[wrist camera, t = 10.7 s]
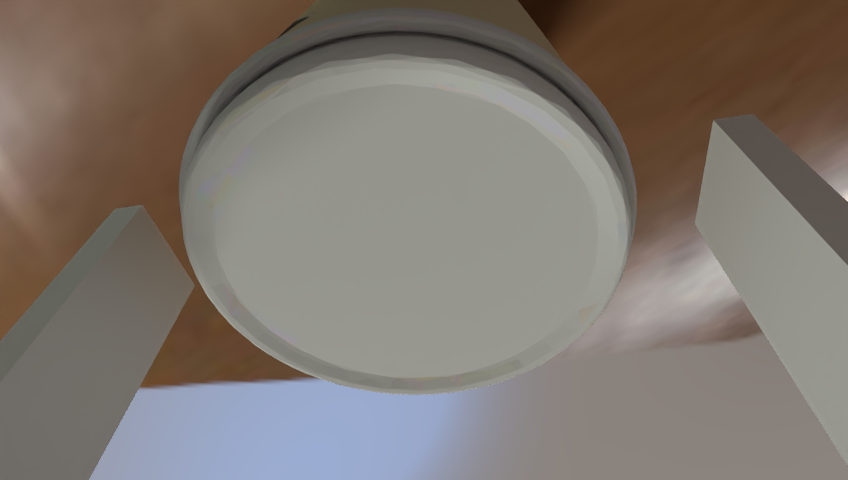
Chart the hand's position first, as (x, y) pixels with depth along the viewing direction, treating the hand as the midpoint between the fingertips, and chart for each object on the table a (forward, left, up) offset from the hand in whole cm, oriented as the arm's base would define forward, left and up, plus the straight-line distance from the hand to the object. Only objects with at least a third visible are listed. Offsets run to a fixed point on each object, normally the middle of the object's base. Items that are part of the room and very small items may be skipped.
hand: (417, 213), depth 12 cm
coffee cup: (0, 0, -10) cm, 10 cm away
